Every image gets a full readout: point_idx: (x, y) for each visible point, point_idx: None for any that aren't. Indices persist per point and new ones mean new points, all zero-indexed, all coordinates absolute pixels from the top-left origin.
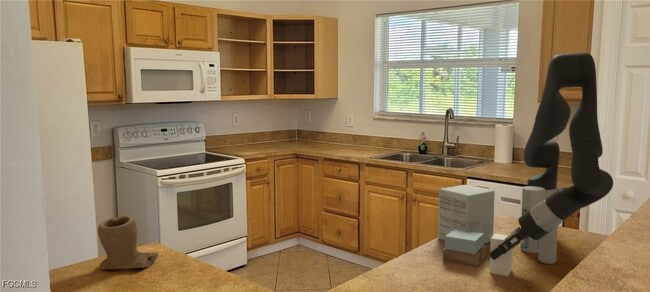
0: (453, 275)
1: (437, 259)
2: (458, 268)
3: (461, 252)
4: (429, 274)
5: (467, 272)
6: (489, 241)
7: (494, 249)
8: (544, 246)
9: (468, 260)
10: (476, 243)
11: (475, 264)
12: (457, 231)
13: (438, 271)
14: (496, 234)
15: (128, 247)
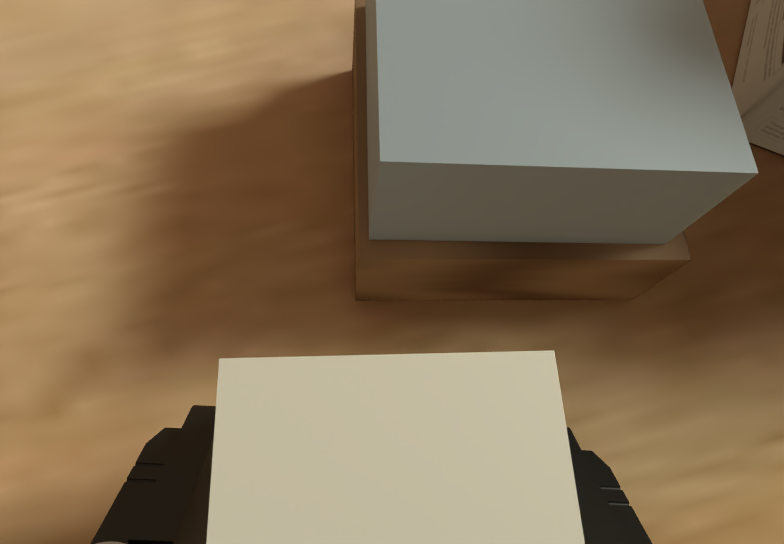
0: (80, 203)
1: None
2: (255, 194)
3: (359, 128)
4: (32, 66)
5: (197, 273)
6: None
7: (160, 474)
8: None
9: (356, 218)
10: (425, 188)
11: (355, 284)
12: None
13: (121, 98)
14: (510, 390)
15: None
